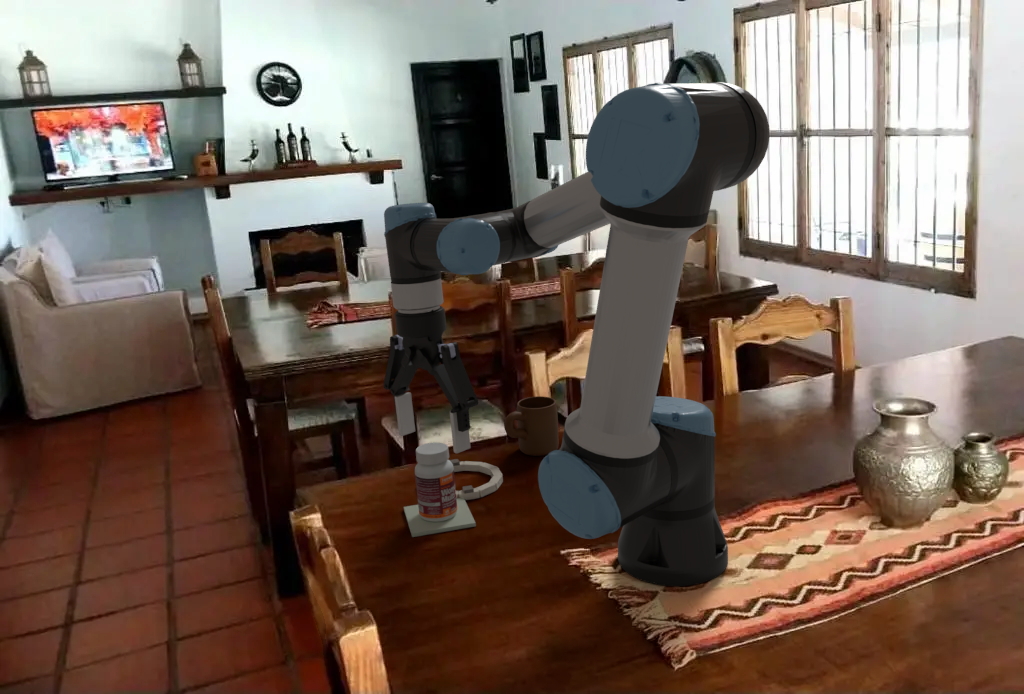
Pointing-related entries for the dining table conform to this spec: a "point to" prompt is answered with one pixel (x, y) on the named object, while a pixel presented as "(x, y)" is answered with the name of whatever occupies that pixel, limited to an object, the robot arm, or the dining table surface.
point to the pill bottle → (435, 482)
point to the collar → (482, 490)
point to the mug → (535, 425)
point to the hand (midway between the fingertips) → (433, 441)
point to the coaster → (427, 527)
